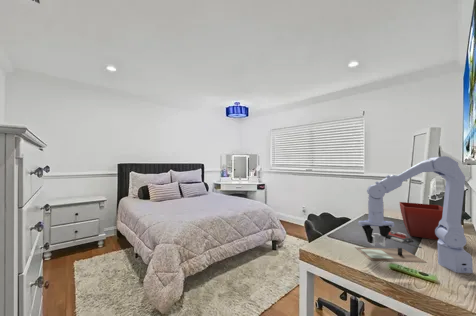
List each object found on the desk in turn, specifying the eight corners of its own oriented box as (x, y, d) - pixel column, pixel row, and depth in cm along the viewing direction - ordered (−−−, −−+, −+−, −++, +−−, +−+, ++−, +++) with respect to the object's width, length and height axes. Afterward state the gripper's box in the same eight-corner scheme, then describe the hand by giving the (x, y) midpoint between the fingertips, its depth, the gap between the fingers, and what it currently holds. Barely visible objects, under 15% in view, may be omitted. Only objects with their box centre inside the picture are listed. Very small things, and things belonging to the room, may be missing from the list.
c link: (385, 246, 92) (385, 237, 92) (373, 246, 92) (373, 236, 92) (378, 242, 97) (378, 233, 97) (367, 241, 97) (367, 233, 97)
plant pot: (439, 233, 126) (439, 204, 126) (451, 243, 109) (450, 210, 110) (399, 228, 135) (399, 201, 136) (404, 237, 119) (404, 206, 119)
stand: (427, 265, 86) (427, 255, 86) (371, 263, 88) (371, 253, 88) (403, 250, 100) (402, 242, 100) (354, 249, 102) (354, 241, 102)
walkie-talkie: (377, 237, 119) (420, 251, 101) (377, 229, 119) (420, 242, 101) (387, 235, 123) (430, 248, 104) (387, 227, 123) (430, 239, 104)
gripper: (387, 210, 98) (387, 239, 98) (354, 209, 99) (354, 238, 99) (397, 213, 91) (397, 245, 91) (362, 212, 92) (362, 244, 92)
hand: (376, 242), depth 94 cm, fingers closed on c link, 5 cm apart
